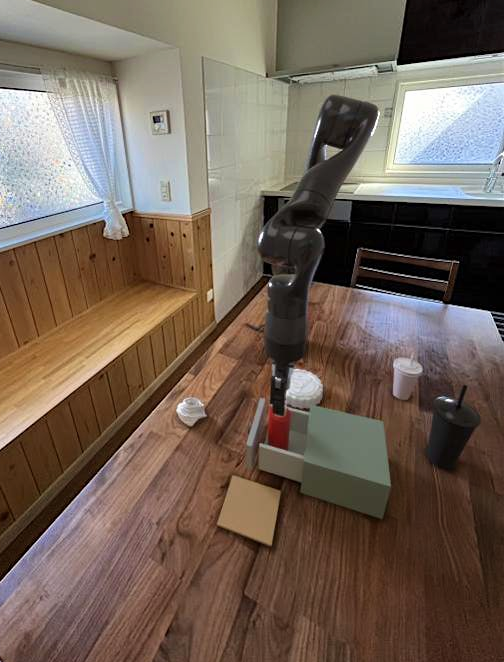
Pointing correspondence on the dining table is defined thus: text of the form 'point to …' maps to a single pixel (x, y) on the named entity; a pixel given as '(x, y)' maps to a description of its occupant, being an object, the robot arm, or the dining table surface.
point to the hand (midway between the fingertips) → (281, 398)
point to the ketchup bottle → (279, 429)
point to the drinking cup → (451, 429)
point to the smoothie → (405, 376)
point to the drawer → (276, 458)
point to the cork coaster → (250, 510)
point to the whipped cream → (190, 411)
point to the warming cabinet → (346, 461)
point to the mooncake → (304, 389)
